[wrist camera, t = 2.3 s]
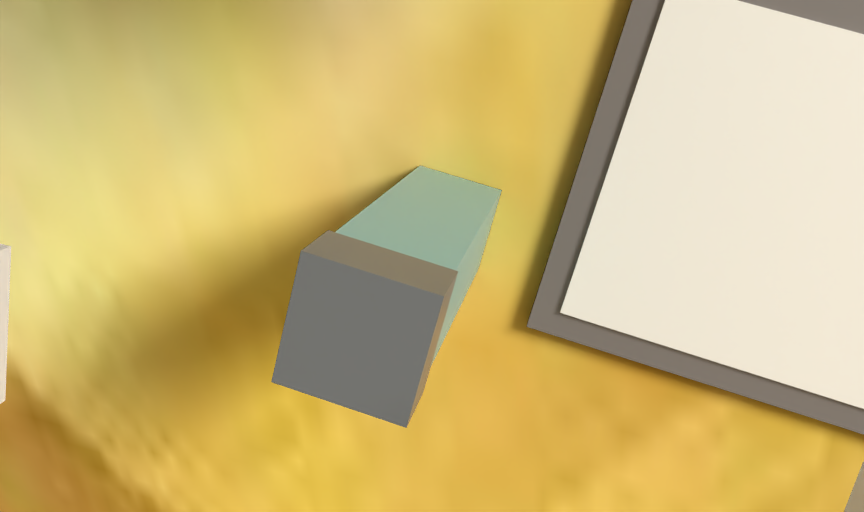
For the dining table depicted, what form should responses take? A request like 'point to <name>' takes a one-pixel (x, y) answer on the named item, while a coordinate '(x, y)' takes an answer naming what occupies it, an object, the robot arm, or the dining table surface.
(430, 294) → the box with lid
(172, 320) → the dining table surface
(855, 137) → the clipboard
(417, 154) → the dining table surface
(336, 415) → the dining table surface
